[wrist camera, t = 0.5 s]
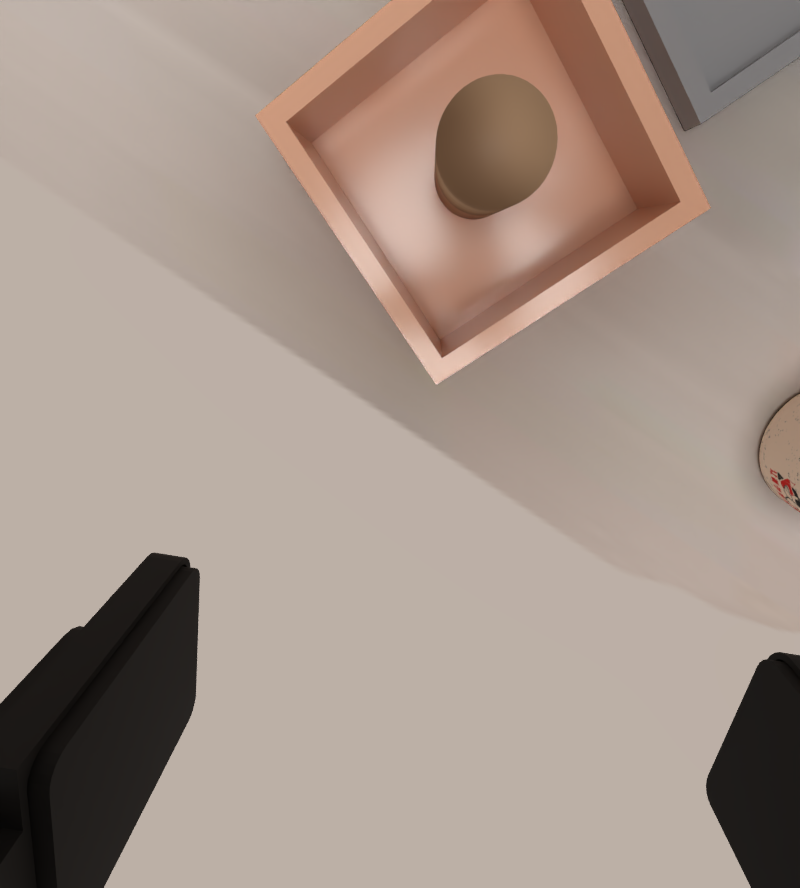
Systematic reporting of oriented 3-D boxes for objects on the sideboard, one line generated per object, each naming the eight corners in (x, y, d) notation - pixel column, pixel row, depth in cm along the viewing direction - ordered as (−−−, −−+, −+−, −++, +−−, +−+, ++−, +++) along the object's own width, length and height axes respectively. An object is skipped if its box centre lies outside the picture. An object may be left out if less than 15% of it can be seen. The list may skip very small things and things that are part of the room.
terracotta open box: (522, -53, 29) (547, -132, 22) (658, 214, 32) (710, 207, 26) (289, 139, 32) (255, 115, 26) (435, 360, 36) (436, 384, 30)
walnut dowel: (488, 111, 31) (517, 45, 20) (531, 187, 32) (579, 160, 21) (418, 164, 32) (412, 126, 21) (462, 236, 33) (476, 233, 22)
